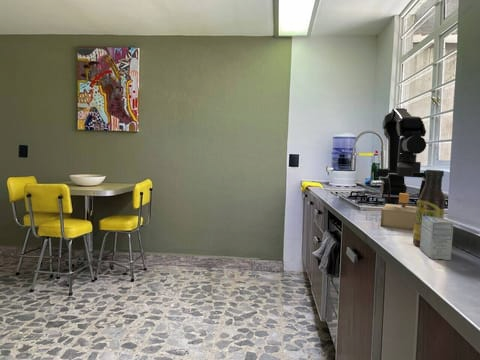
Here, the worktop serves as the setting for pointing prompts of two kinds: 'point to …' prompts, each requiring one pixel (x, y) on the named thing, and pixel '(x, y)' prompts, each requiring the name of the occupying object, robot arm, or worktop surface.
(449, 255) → the medicine box
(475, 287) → the worktop surface
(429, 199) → the sauce bottle
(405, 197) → the pull drawer
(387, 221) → the carton
